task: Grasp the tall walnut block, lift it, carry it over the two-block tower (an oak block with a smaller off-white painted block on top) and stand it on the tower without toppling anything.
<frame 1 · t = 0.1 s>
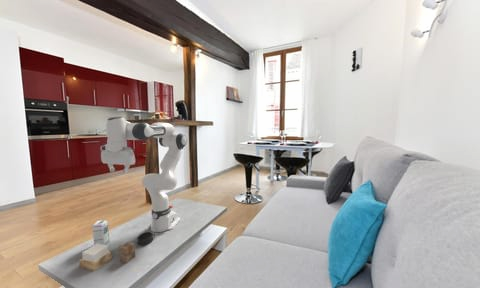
hand: (119, 172, 104), 48 cm above the table, fingers open, 8 cm apart
syrup box: (101, 245, 117), on the table
oak base block: (96, 262, 102), on the table, touching off-white top block
off-white top block: (96, 256, 102), point 4 cm above the table, touching oak base block
smart speaker: (145, 241, 121), on the table
walnut block: (127, 258, 105), on the table
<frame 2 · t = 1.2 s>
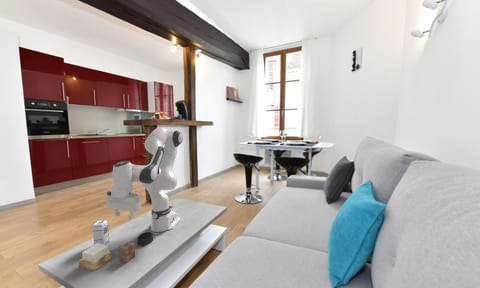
hand: (124, 217, 103), 24 cm above the table, fingers open, 8 cm apart
nothing on the table moved.
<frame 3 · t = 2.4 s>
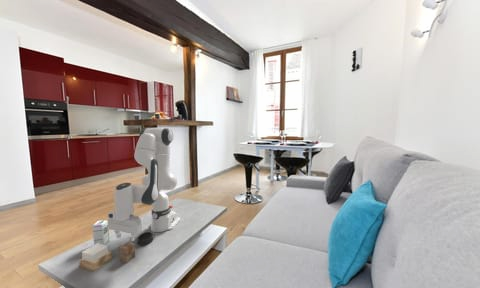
hand: (125, 238, 103), 12 cm above the table, fingers open, 8 cm apart
nothing on the table moved.
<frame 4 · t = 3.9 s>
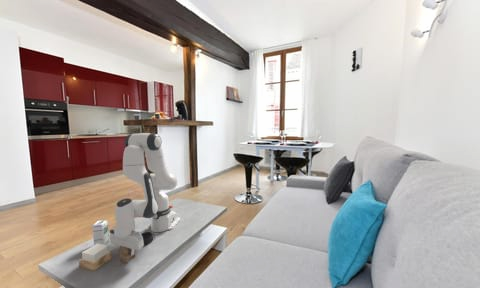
hand: (127, 253, 105), 3 cm above the table, fingers closed on walnut block, 5 cm apart
walnut block: (127, 258, 105), on the table, touching gripper
everything else where it was.
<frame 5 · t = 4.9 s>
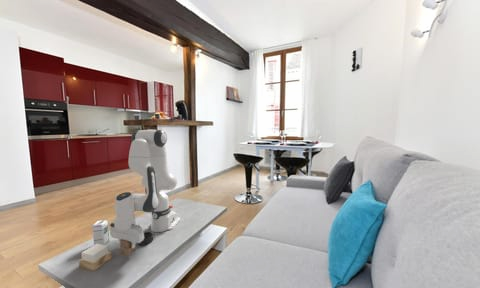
hand: (128, 246, 105), 7 cm above the table, fingers closed on walnut block, 5 cm apart
walnut block: (128, 251, 105), point 4 cm above the table, touching gripper
everything else where it was.
when the fingers open (12 cm above the table, at t = 10.2 s): walnut block drops 1 cm, resting on off-white top block.
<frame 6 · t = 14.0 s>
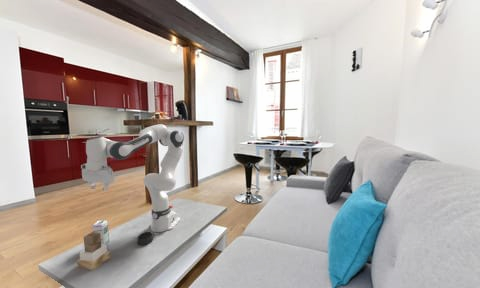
hand: (99, 189, 108), 37 cm above the table, fingers open, 8 cm apart
oak base block: (94, 262, 103), on the table, touching off-white top block
off-white top block: (93, 255, 102), point 3 cm above the table, touching oak base block, walnut block
walnut block: (93, 249, 102), point 7 cm above the table, touching off-white top block
everything else where it was.
at the end: walnut block inside the target area on the oak base block (0.4 cm from its centre), point 8.0 cm above the oak base block's base; walnut block tilted 0°; off-white top block moved 1.4 cm from its start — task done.
